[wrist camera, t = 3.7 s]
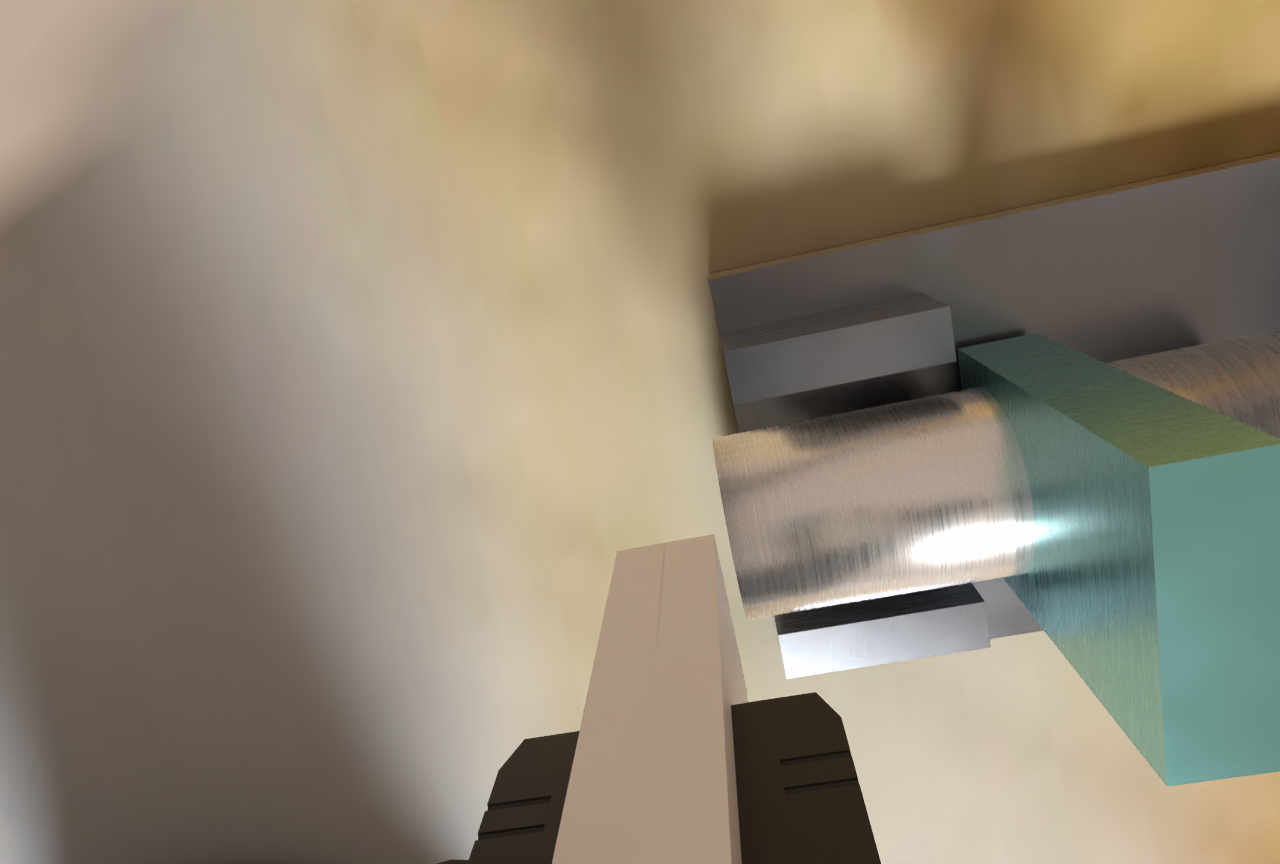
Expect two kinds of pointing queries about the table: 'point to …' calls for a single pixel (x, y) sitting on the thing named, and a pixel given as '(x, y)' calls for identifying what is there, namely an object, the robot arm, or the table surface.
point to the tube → (1057, 525)
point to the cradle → (985, 312)
